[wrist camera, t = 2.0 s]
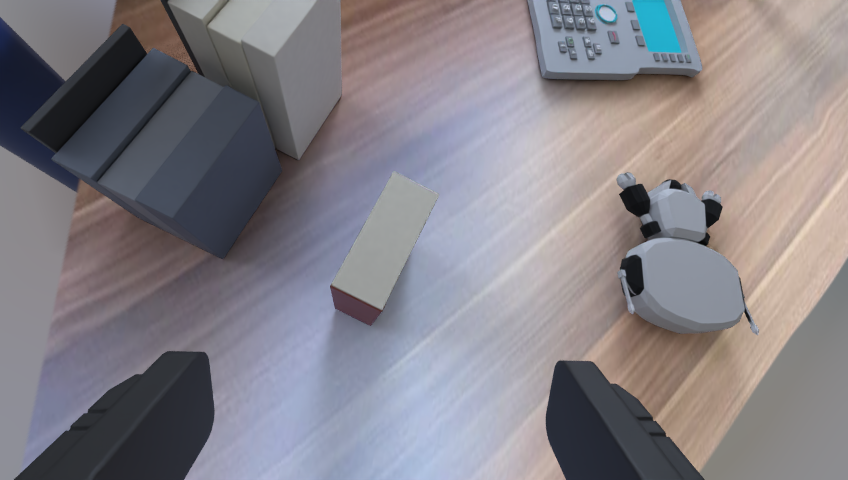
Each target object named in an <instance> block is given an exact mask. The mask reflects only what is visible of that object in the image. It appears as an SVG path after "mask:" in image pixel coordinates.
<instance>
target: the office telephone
mask: <svg viewBox="0 0 848 480" xmlns="http://www.w3.org/2000/svg"><path fill="white" fill-rule="evenodd" d="M527 1H528V5H529V10H530V15H531V19H532V24H533V28H534V33H535V38H536V44H537V54H538V59H539V63H540V68H541V73H542V77H544V78H549V79H585V80H629V79H632V78H633V77H634V76H635V75H636V74H676V75H687V76H689V77H694V76H695V75H697V74H698V73H699V72H700V71H701V70H702V64H701V60H700V57H699V54H698V51H697V48H696V45H695V42H694V39H693V36H692V33H691V30H690V27H689V24H688V21H687V18H686V16H685V13H684V10H683V7H682V4H681V1H680V0H527Z"/></svg>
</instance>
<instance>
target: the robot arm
mask: <svg viewBox="0 0 848 480" xmlns="http://www.w3.org/2000/svg"><path fill="white" fill-rule="evenodd" d="M213 422H214V400H213V391H212V383H211V374H210V365H209V359H208V356H207V354H206V353H205V352H184V351H167V352H165V353H164V354H162V355H161V356H160V357H159V358H158V359H157V360H156V361H155V362H154V363H153V364H152V365H151V366H150V367H149V368H148V369H147V370H146V371H145V372H144V373H143V374H136V375H134V376H132V377H131V378H129V379H127V380H125V381H124V382H122V383H120V384H119V385H117V386H115V387H113V388H112V389H110V390H108V391H107V392H106V393H105V394H104V395H103V396H102V397H101V398H100V399H99V400H98V401H97V402H96V403H95V404H94V405H93V406H91V407H90V408H89V409H88V413H84V414H83V415H82V416H81V417H80V418H79V419H78V420H77V421H76V422H74V423H73V424H72V425H71V428H70V430H69V431H65V432H64V433H63V434H62V435H61V436H60V437H59V438H58V439H56V440H55V441H54V442H53V443H52V444H51V445H50V446H49V447H48V448H47V449H46V450H45V451H44V452H43V453H42V454H41V455H39V456H38V457H37V458H36V459H35V460H34V461H33V462H32V463H31V464H30V465H29V466H28V467H27V468H26V469H25V470H24V471H23V472H21V473H20V474H19V475H18V476H17V477H16V478H15V479H14V480H184V479H185V477H186V475H187V474H188V472H189V470H190V468H191V467H192V465H193V463H194V462H195V460H196V458H197V457H198V455H199V453H200V452H201V450H202V448H203V447H204V445H205V443H206V442H207V440H208V438H209V435H210V433H211V430H212V426H213ZM546 430H547V436H548V440H549V443H550V445H551V447H552V449H553V452H554V454H555V456H556V458H557V461H558V463H559V465H560V467H561V469H562V472H563V474H564V476H565V478H566V480H704V478H703V477H702V476H701V475H700V474H699V472H698V471H697V470H696V469H695V468H694V466H693V465H692V464H691V463H690V462H689V460H688V459H687V458H686V457H685V455H684V454H683V453H682V452H681V451H680V449H679V448H678V447H677V446H676V445H675V443H674V442H673V441H672V440H671V439H670V437H666V433H665V431H664V430H663V429H662V428H661V427H660V425H659V424H658V423H657V422H656V421H653V417H652V416H651V415H650V413H649V412H648V411H647V410H646V409H645V407H644V406H643V405H642V404H641V403H640V401H639V400H638V399H637V398H635V397H634V396H633V395H631V394H630V393H628V392H627V391H626V390H624V389H623V388H621V387H620V386H619V385H617V384H610V383H609V381H608V380H607V379H606V378H605V376H604V375H603V374H602V372H601V371H600V370H599V369H598V367H597V366H596V365H595V364H594V363H593V362H591V361H558V362H557V363H556V365H555V369H554V374H553V379H552V385H551V390H550V396H549V401H548V406H547V412H546Z"/></svg>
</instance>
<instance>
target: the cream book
mask: <svg viewBox="0 0 848 480" xmlns="http://www.w3.org/2000/svg"><path fill="white" fill-rule="evenodd" d="M438 196H439V194H438V193H436V192H434V191H432V190H430V189H428V188H426V187H424V186H422V185H420V184H418V183H416V182H414V181H412V180H410V179H408V178H407V177H405V176H403V175H401V174H399V173H397V172H395V171H394V172H393V173H392V175H391V177H390V179H389V180H388V182H387V184H386V186H385V188H384V190H383V191H382V193H381V195H380V197H379V199H378V200H377V202H376V204H375V206H374V208H373V209H372V211H371V213H370V215H369V217H368V219H367V220H366V222H365V224H364V226H363V228H362V229H361V231H360V233H359V235H358V237H357V238H356V240H355V242H354V244H353V246H352V248H351V249H350V251H349V253H348V255H347V257H346V258H345V260H344V262H343V264H342V266H341V267H340V269H339V271H338V273H337V275H336V276H335V278H334V280H333V282H332V284H331V286H330V288H331V293H332V297H333V301H334V306H335V309H337V310H339V311H341V312H343V313H345V314H347V315H349V316H351V317H353V318H355V319H357V320H359V321H361V322H364V323H366V324H368V325H370V326H371V325H372V324H373V322H374V321H375V320H376V319H377V317H378V316H379V315H380V314H381V312H382V311H383V309H384V307H385V305H386V302H387V300H388V298H389V296H390V294H391V292H392V290H393V288H394V286H395V284H396V282H397V280H398V278H399V276H400V274H401V272H402V269H403V267H404V265H405V263H406V261H407V259H408V257H409V255H410V253H411V251H412V249H413V247H414V245H415V243H416V241H417V239H418V237H419V235H420V233H421V231H422V229H423V227H424V225H425V223H426V221H427V219H428V217H429V215H430V213H431V211H432V209H433V207H434V205H435V203H436V201H437V198H438Z"/></svg>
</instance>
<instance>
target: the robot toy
mask: <svg viewBox="0 0 848 480" xmlns="http://www.w3.org/2000/svg"><path fill="white" fill-rule="evenodd" d="M617 183H618V185H619V186H620V187H621V188H622V189H624V191H622V192H621V193H620V194H619V195H620V197H621V199H622V201H623V203H624V205H625V207H626V209H627V210H628V211H630V212H631V213H633V214H634V215H636V216H638V217H640V219H641V221H642V223H643V226H641V228H640V230H641V232H642V234H643V236H644V237H645V238H648V240H649V241H647V242H645V243H643V244H641V245H638V246H636V247H635V248H633V249H631V250H629V251H628V253H627V255H626V258H625V259H622V263H621V267H620V271H619V272H617V273H618V277H619V279H621V285H622V290H623V293H624V295H625V296H626V300H627V303H628V310H629V312H630V313H631V314H633V313H634V311H635V312H636V313H637V314H638V315H639V316H640V317H641V318H643V319H644V320H646V321H648V322H650V323H652V324H654V325H656V326H658V327H661V328H664V329H667V330H670V331H673V332H676V333H679V334H688V333H704V332H711V331H717V330H723V329H728V328H731V327H733V326H734V325H735V324H737V323H738V322H739V321H740V319H741V317H742V314H743V312H745V314H746V317H747V319H748V321H749V323H750V325H751V327H750V328H751V330H752V332H753V333H755V334H756V335H758V333H759V329H758V327H757V325H755V323H754V321H753V319H752V317H751V314H750V312H749V310H748V308H747V306H746V304H745V302H744V298H745V297H744V295H743V291H742V286H741V281H740V278H739V276H738V270H737V269H736V268H735V267H734V266H733V265H732V264H731V263H730V262H729V261H728V260H727V259H726V258H725V257H724V256H722V255H721V254H719V253H718V252H716V251H714V250H712V249H710V248H708V247H706V245H708V242H709V239H710V235H709V234H708V233H706V231H707V228H709V227H710V226H711V225H713V224H714V223H715V222H716V221H718V220H719V217H720V214H721V211H722V206H721V204H720V203H721V197H720V196H719V195H717V194H715V195H713V193H714V192H712V191H706V192H705V193H704V194H703V196H702V201H700V200H699V199H698V198H697V197H696V195H695V193H694V191H693V189H692V187H690V186H689V185H687V184H686V183H684V184H682V185H681V184H680V183H679V182H678V181H676V180H670V179H669V180H666V181H664V182H663V183H662V184H661V185H659V186H658V187H656V188H655V189H653V190H651V191H650V192H648V194H647V192H646V190H645V188H644V186H643V184H637V185H636V178H635V177H634V176H633V175H632V174H631V173H628V172H627V173H625V174H620V175H619V176H618V177H617Z"/></svg>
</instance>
